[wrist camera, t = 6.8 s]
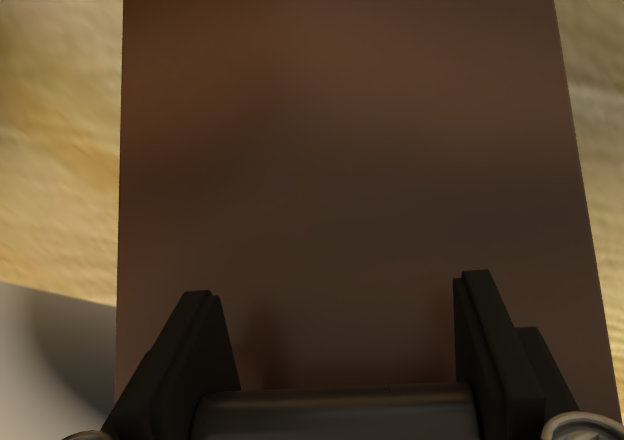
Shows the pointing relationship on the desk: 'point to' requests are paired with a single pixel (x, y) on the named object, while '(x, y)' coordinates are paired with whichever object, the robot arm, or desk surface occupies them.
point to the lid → (352, 205)
